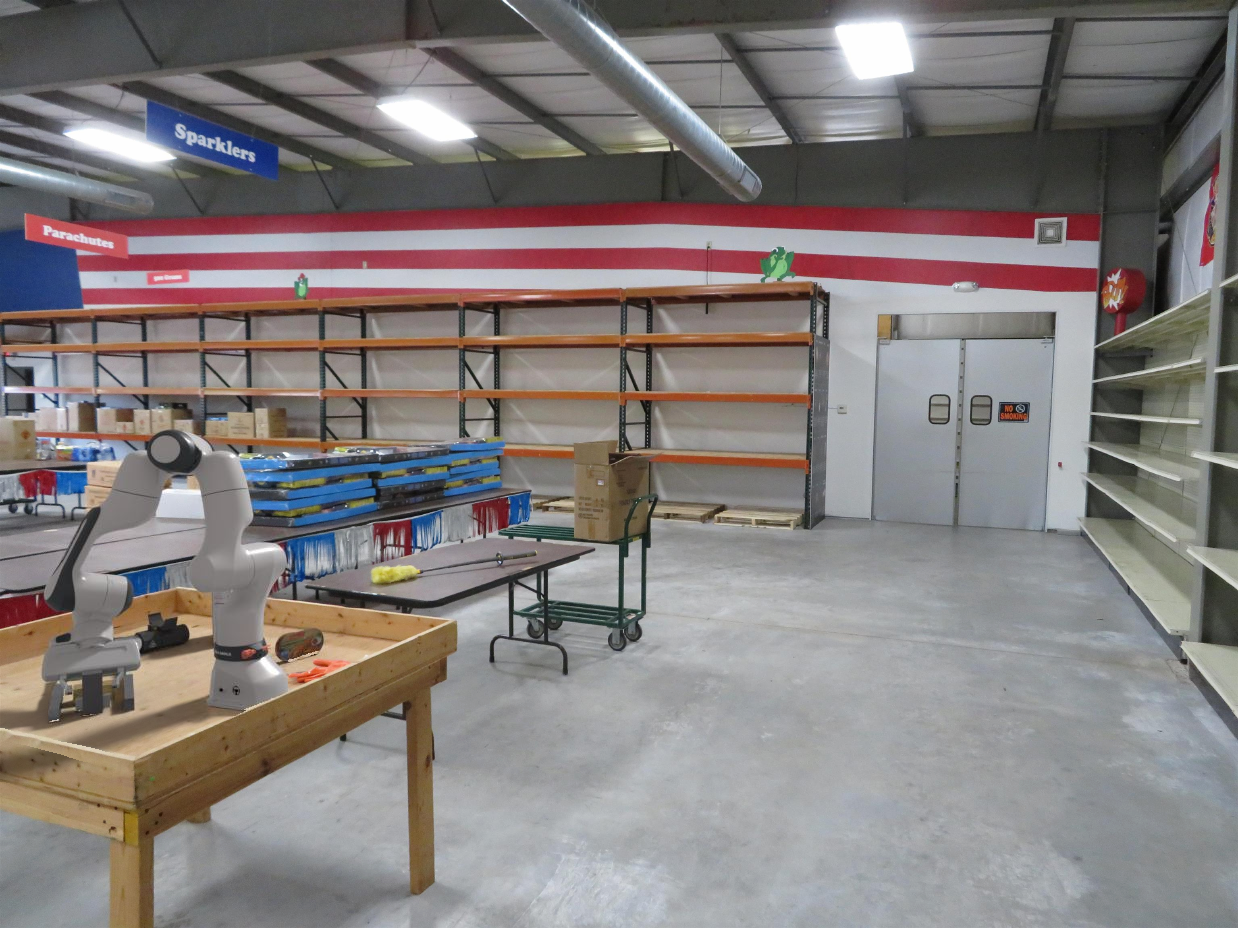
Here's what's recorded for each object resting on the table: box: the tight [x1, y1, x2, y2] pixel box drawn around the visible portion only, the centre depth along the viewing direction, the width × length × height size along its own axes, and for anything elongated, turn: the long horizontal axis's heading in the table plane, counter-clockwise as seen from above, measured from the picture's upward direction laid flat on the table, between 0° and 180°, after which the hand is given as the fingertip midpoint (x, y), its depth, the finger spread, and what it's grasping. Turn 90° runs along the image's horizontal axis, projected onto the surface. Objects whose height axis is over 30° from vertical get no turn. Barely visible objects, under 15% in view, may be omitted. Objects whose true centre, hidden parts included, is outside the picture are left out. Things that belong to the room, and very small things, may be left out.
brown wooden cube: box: [103, 679, 115, 701], centre depth 199 cm, size 4×4×4 cm
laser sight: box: [126, 611, 190, 655], centre depth 239 cm, size 10×22×10 cm, turn 149°
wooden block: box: [72, 683, 82, 706], centre depth 197 cm, size 4×4×4 cm
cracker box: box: [211, 590, 232, 647], centre depth 251 cm, size 14×6×21 cm, turn 24°
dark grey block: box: [75, 668, 111, 716], centre depth 191 cm, size 5×7×10 cm
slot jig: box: [48, 673, 135, 722], centre depth 196 cm, size 20×17×3 cm
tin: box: [274, 627, 325, 662], centre depth 235 cm, size 15×3×8 cm, turn 146°
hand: (92, 690), depth 190 cm, fingers open, 8 cm apart
